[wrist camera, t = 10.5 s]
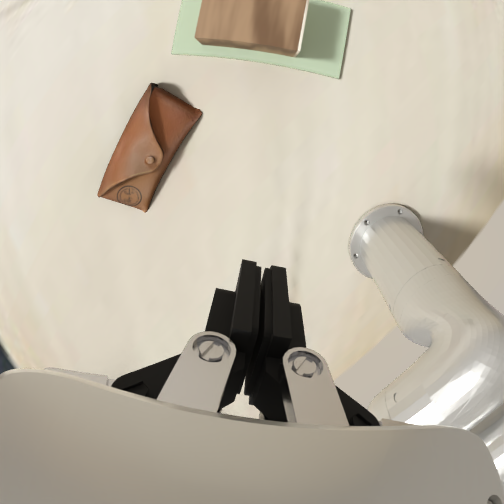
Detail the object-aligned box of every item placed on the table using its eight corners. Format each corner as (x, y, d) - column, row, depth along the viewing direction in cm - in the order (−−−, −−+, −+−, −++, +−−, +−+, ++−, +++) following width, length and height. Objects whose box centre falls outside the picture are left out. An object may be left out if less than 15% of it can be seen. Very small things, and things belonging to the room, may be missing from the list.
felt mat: (350, 9, 29) (350, 8, 29) (338, 78, 34) (338, 78, 34) (186, -15, 28) (185, -16, 28) (172, 54, 33) (171, 53, 33)
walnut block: (310, -6, 25) (206, -20, 24) (300, 51, 29) (194, 37, 28) (304, 5, 29) (212, -7, 29) (295, 57, 33) (202, 45, 32)
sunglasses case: (147, 217, 44) (113, 220, 38) (123, 191, 46) (90, 192, 40) (206, 109, 37) (173, 96, 31) (175, 90, 39) (142, 78, 33)
